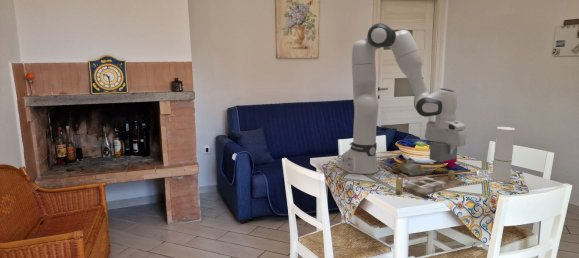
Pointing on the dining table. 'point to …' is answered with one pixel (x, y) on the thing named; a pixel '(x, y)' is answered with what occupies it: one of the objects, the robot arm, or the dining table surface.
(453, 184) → the board
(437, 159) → the housing
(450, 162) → the pepper mill
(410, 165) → the ceramic sculpture
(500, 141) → the cylindrical container
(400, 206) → the dining table surface
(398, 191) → the brass pin
